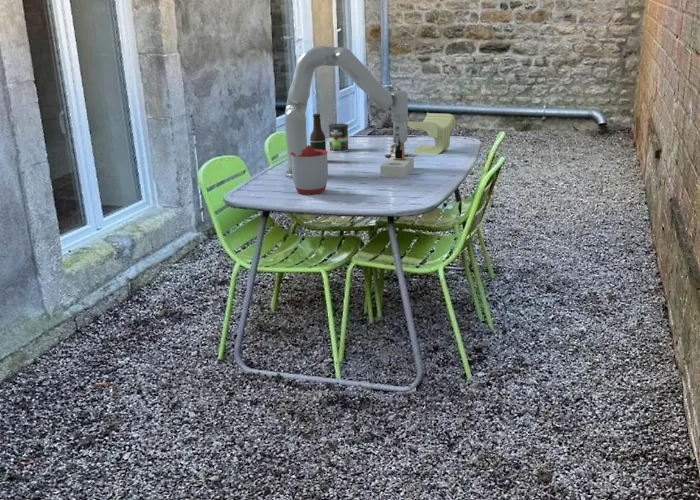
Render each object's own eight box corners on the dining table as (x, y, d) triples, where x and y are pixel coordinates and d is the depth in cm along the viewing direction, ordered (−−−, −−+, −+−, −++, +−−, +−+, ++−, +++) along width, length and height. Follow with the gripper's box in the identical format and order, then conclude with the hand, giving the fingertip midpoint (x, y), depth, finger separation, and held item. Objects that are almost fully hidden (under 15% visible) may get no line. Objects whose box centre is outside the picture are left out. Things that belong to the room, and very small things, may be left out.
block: (404, 177, 326) (404, 166, 325) (380, 177, 329) (380, 166, 328) (413, 167, 346) (413, 157, 345) (391, 166, 349) (391, 156, 348)
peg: (403, 167, 340) (403, 138, 336) (395, 167, 341) (394, 138, 337) (405, 166, 344) (404, 136, 339) (396, 165, 345) (396, 136, 340)
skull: (409, 156, 366) (395, 142, 365) (394, 170, 370) (380, 155, 368) (410, 151, 378) (397, 137, 376) (396, 164, 381) (383, 150, 379)
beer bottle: (327, 160, 370) (325, 112, 362) (325, 163, 362) (323, 115, 355) (312, 160, 371) (310, 113, 363) (310, 163, 363) (307, 115, 356)
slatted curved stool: (436, 157, 367) (437, 122, 361) (407, 155, 374) (407, 121, 368) (455, 147, 392) (455, 114, 387) (427, 145, 399) (427, 113, 393)
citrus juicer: (306, 185, 319) (304, 140, 312) (336, 190, 308) (335, 143, 302) (282, 192, 307) (279, 146, 301) (312, 198, 297) (309, 150, 290)
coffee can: (345, 153, 386) (344, 126, 382) (327, 152, 389) (326, 126, 385) (351, 149, 395) (350, 123, 391) (333, 148, 398) (332, 123, 394)
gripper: (403, 121, 326) (403, 160, 332) (411, 115, 342) (411, 153, 347) (387, 120, 328) (388, 160, 334) (395, 115, 344) (396, 153, 350)
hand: (399, 156), depth 341 cm, fingers open, 4 cm apart
